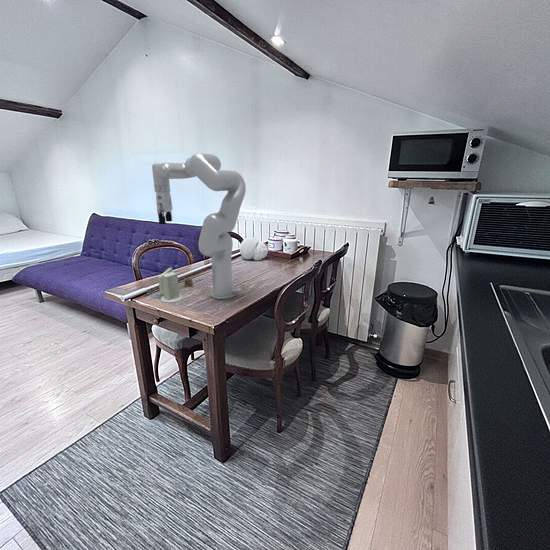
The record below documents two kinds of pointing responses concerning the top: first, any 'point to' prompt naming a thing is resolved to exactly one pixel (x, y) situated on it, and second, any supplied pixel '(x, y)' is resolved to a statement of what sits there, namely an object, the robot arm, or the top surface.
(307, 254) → the top surface
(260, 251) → the cauliflower
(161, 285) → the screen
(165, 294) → the skincare box
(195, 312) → the top surface
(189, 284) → the walnut cube
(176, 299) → the coaster
